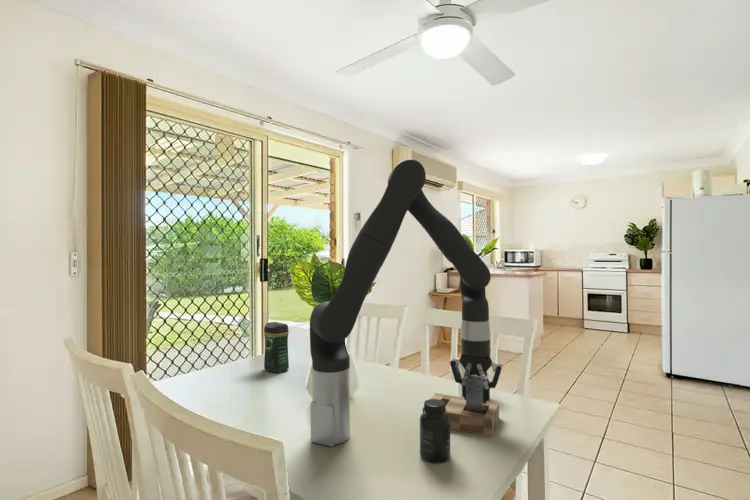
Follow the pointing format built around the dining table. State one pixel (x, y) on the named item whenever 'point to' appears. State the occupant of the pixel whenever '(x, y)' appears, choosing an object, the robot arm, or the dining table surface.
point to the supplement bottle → (435, 432)
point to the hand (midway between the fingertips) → (476, 400)
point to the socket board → (469, 415)
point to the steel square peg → (475, 394)
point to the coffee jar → (276, 347)
